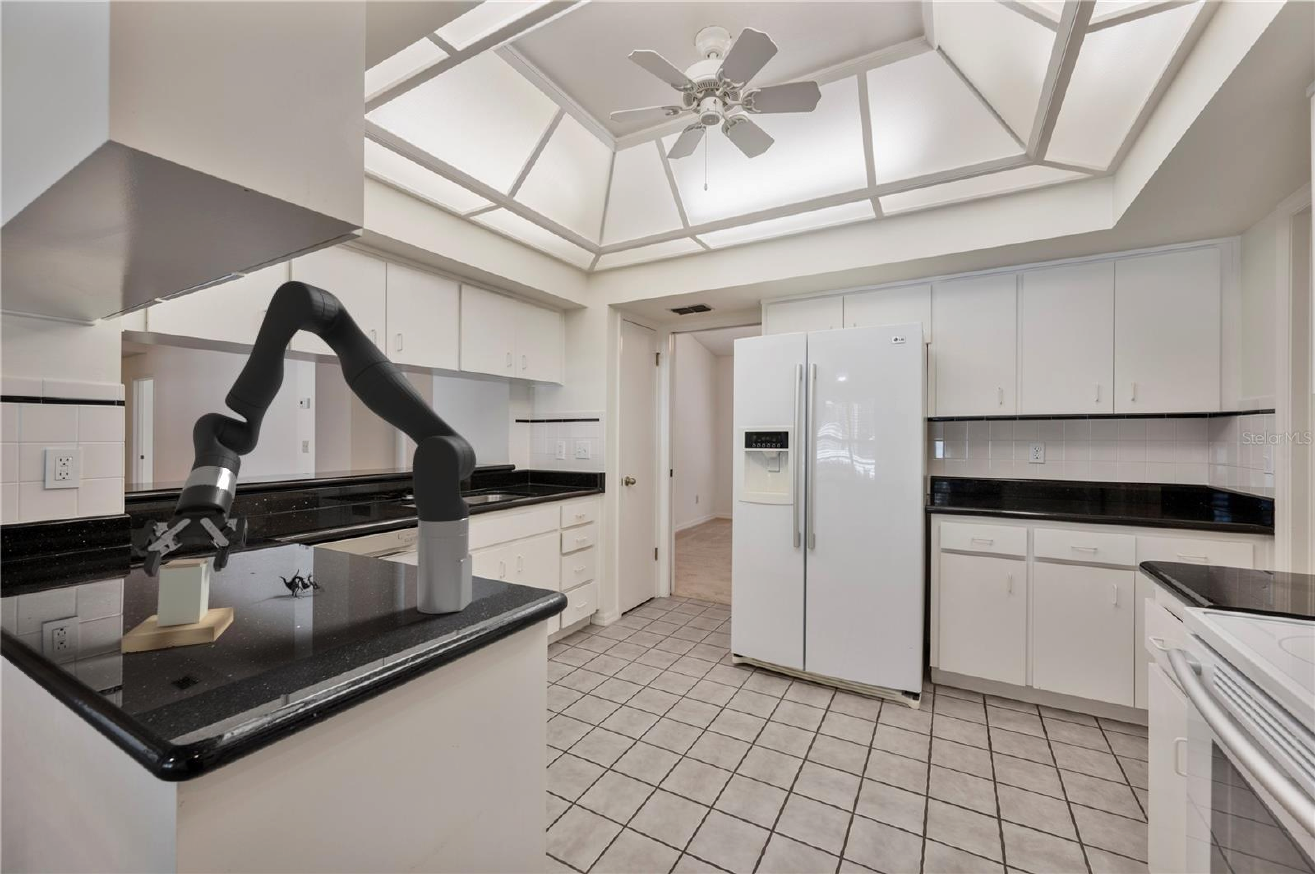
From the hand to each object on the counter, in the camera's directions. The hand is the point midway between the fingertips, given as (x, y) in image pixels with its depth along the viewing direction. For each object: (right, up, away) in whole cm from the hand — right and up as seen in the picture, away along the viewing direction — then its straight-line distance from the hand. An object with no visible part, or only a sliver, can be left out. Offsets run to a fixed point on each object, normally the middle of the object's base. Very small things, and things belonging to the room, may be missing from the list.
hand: (184, 571), depth 87 cm
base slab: (0, -11, -1) cm, 11 cm away
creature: (+5, -11, +23) cm, 26 cm away
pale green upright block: (0, -8, 0) cm, 8 cm away
